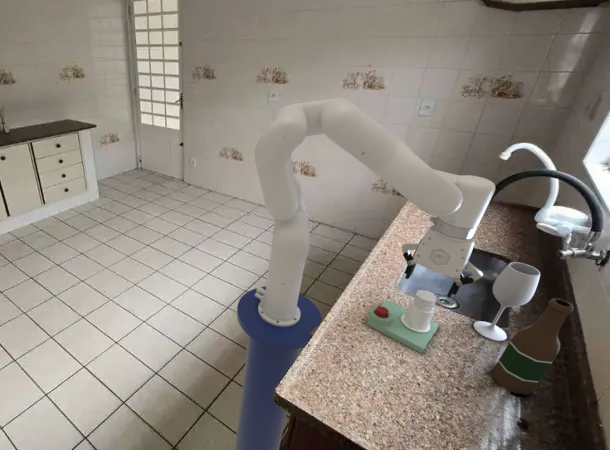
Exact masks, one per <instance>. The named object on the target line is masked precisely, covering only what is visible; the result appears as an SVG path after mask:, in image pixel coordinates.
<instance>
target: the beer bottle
mask: <svg viewBox="0 0 610 450" xmlns="http://www.w3.org/2000/svg"><path fill="white" fill-rule="evenodd" d="M547 304H548V306H547V307H546V308H545V310H544V311H543V312H542V313H541V315H540V316H539V317H538V319H537V320H536V321H535V322H534V323H532V324H530V325H525V326H522V327H521V328H519V329H518V330H517V331H516V333H515V334H514V335H513V337H512V338H511V339H510V341H509V342H508V344H507V346H506V347H505V349H504V350H503V353H502V354H501V355H500V357H499V359H498V361H497V362H496V364H495V366H494V367H493V369H492V371H491V376H492V377H493V379H494V380H495V382H496V383H497V384H498V385H499V386H501V387H502V388H504V389H506V390H508V391H509V392H512V393H513V394H519V395H530V394H531V393H532V392H533V391H534V389H535V388H536V386H537V385H538V383H539V382H540V381H541V380H542V379H543V377H544V376H545V374H546V373H547V371H548V370H549V369H550V367H551V366H552V364H554V361H555V359H556V358H557V356H558V354H559V352H560V350H561V342H560V338H559V336H558V335H559V332H560V330H561V328H562V326H563V324H564V322H565V321H566V319H567V317H568V315H569V314H572V313H573V311H574V307H575V306H574V305H573V304H572V303H571V302H569V301H567V300H565V299H562V298H557V297H556V298H555V297H553V298H551V299H550V300H549V301H548V302H547Z"/></svg>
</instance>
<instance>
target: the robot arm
mask: <svg viewBox="0 0 610 450" xmlns="http://www.w3.org/2000/svg"><path fill="white" fill-rule="evenodd" d="M321 135H325V136H326V137H327V138H328V139H329V140H330V141H331V142H333V143H335V145H337V146H338V147H340V148H341V149H342V150H343V151H345V152H347V153H348V154H349V155H350V156H352V157H353V158H355V159H356V160H357V161H358V162H360V163H361V164H363V165H364V166H365V167H366V168H368V169H369V170H370V171H372V173H374V174H375V175H376V176H377V177H379V178H380V179H381V180H383V181H384V182H385V183H386V184H388V185H389V186H390V187H391V188H393V189H394V190H395V191H396V192H397V193H399V195H401V196H403V197H404V198H405V199H407V200H408V201H409V202H410V203H412V204H413V205H414V206H416V207H417V208H418V209H420V210H421V211H423V212H424V213H426V214H428V215H430V217H429V222H431V223H433V225H431V226H429V228H428V229H427V230H426V232H425V234H424V235H423V237H422V238H421V241H420V243H404V244H402V246H401V250H402V257H403V258H404V260H405V261H406V267H405V270H404V274H406V275H405V277H404V279H405V280H409V279H410V278H411V277H412V275H413V273H414V271H415V268H416V267H417V265H419V266H421V267H423V268H426V269H428V270H431V271H432V272H433V271H434V272H435V273H439V274H441V275H443V276H446V277H449V278H452V279H453V280H454V282H453V283H452V284H451V286H450V289H449V291H448V292H447V295H446V297H447V298H451V297H452V295H454V296H456V295H457V293H458V292H459V290H460V289H461V287H463V286H464V285H469V284H470V285H471V284H473V283H474V282H477V281H479V280H480V279H482V278H483V276H484V273H483V272H482V271H481V270H480V269H478V268H477V267H476V266H475V265H474V264H473V263H471V262H470V261H469V260H470V258H471V255H472V253H473V249H474V246H475V241H476V240H475V237H474V235H475V233H476V230H477V228H478V226H479V224H480V222H481V220H482V218H483V216H484V214H485V212H486V210H487V208H488V207H489V204H490V202H491V200H492V198H493V196H494V194H495V192H496V184H495V183H494V182H493V181H492V180H491V179H487V178H485V177H481V176H478V175H471V174H465V175H463V174H462V175H459V174H456V173H455V174H454V173H451V172H446V171H442V170H438V169H433V168H432V167H431V166H430V165H428V164H427V163H426V162H425V161H424V160H422V158H420V157H419V156H418V155H417V154H416V153H415V152H414V151H413V150H412V149H411V148H410V147H409V146H408V145H407V144H406V143H405V142H404V141H403V140H402V139H401V138H400V137H398V136H397V135H396V134H394V133H393V132H391V131H390V130H389V129H387V128H386V127H384V126H383V125H382V124H380V123H379V122H378V121H376V120H375V119H374V118H372V117H371V116H370V115H368V114H367V113H366V112H365V111H364V110H362V109H361V108H359V107H358V106H357V105H356V104H355V103H354V102H353V101H352V100H350V99H348V98H345V97H334V98H327V99H321V100H313V101H306V102H298V103H291V104H287V105H284V106H282V107H280V108H279V109H278V110H277V111H276V112H275V114H274V116H273V117H272V120H271V123H270V124H269V125H268V126H267V127H266V129H264V131H263V132H262V133H261V135H260V136H259V138H258V140H257V142H256V144H255V149H254V159H255V160H254V162H255V166H256V170H257V175H258V179H259V185H260V189H261V192H262V196H263V201H264V206H265V209H266V210H267V212H268V214H269V215H270V216H271V217H272V218H273V223H274V224H273V228H272V229H273V231H272V238H271V247H270V255H269V260H268V261H269V262H268V271H267V278H266V286H265V287H266V291H265V290H264V289H263V288H261V287H262V286H257V287H256V288H257V289H256V292H258V293H256V294H255V297H257V298H259V299H260V300H261V302H260V303H259V306H258V312H259V315H260V316H261V318H262V319H263V320H265V321H266V322H268V323H270V324H272V325H275V326H279V327H289V326H292V325H295V324H296V323H297V322H298V321H299V319H300V315H301V313H300V309H299V308H298V306H297V302H298V297H299V293H300V291H301V286H302V281H303V277H304V270H305V265H306V261H307V257H308V254H309V250H310V245H311V233H310V223H309V217H308V216H309V215H308V212H307V208H306V207H307V206H306V203H305V202H306V201H305V198H304V194H303V193H304V192H303V189H302V185H301V183H300V181H299V179H298V178H297V177H296V175H295V174H294V166H293V163H292V155H293V152H294V151H295V150H296V149H297V148H298V147H299V146H300V145H301V144H302V143H303V142H304V141H305V139H306V137H310V136H311V137H313V136H321ZM415 250H416V251H415ZM410 251H415V252H414V255H412V253H411V252H410ZM465 269H466V270H467V271H468V272H469V273H470V274H471V275H468V276H464V274H463V272H464V270H465ZM260 294H262V295H263V296H262V295H260Z"/></svg>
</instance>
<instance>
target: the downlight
mask: <svg viewBox="0 0 610 450" xmlns="http://www.w3.org/2000/svg"><path fill="white" fill-rule="evenodd" d="M437 301H438V297H437V295H436V294H435V293H433V292H432V291H428V290H425V289H419V290H416V293H415V295H414V297H413V298H412V299H410V301H409V303H408V305H407V307H406V309H407V311H406V313H405V314H404V315H402V316H401V321H402V323H403V324H404V325H405V326H406V327H407V328H409V329H411V330H413V331H416V332H421V333H424V332H428V331H429V330H430V325H429V324H430V321H431V320H432V319H433V317H434V314H435V312H436V306H435V305H436V303H437Z"/></svg>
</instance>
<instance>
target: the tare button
mask: <svg viewBox="0 0 610 450" xmlns="http://www.w3.org/2000/svg"><path fill="white" fill-rule="evenodd" d="M388 312H389V311H388V309H387V308H385V307H382V306H381V305H379V306H378V307H377V308H376V311H375V314H376V315H377V316H378V317H381V318H386V317H387V315H388Z"/></svg>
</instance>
